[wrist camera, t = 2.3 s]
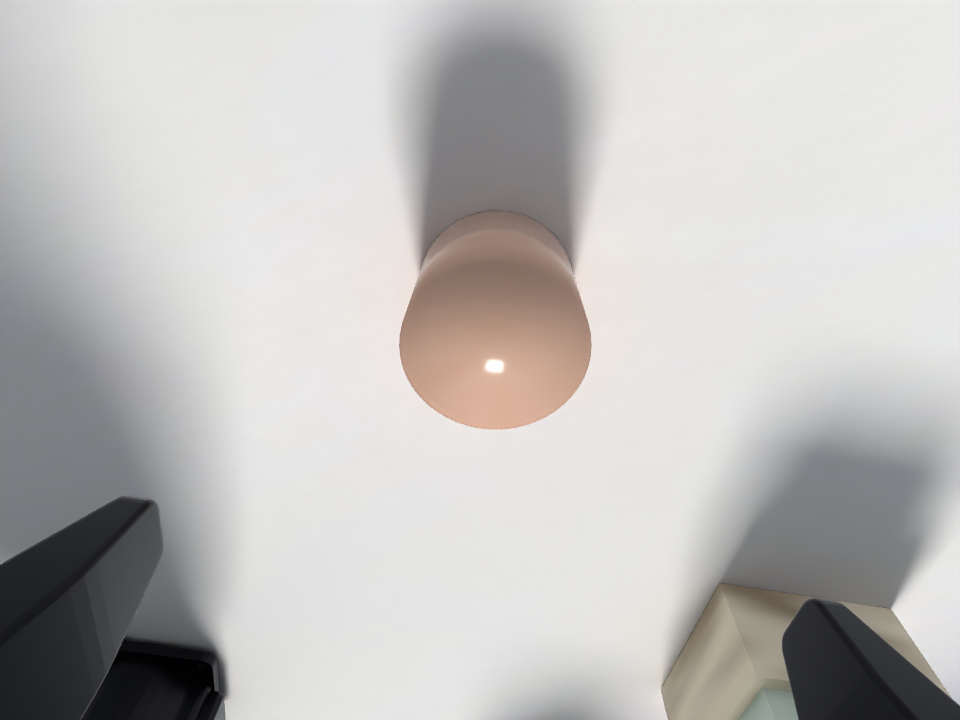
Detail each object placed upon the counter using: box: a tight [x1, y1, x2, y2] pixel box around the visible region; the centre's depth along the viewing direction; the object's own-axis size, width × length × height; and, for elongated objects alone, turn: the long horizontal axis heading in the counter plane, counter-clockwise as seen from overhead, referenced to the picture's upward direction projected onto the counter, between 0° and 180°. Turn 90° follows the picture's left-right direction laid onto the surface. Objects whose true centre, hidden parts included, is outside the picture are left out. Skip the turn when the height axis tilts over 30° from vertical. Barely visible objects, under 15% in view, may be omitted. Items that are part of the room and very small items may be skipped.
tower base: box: [661, 583, 951, 720], centre depth 23 cm, size 7×7×4 cm
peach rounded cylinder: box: [399, 211, 591, 429], centre depth 15 cm, size 4×4×4 cm
